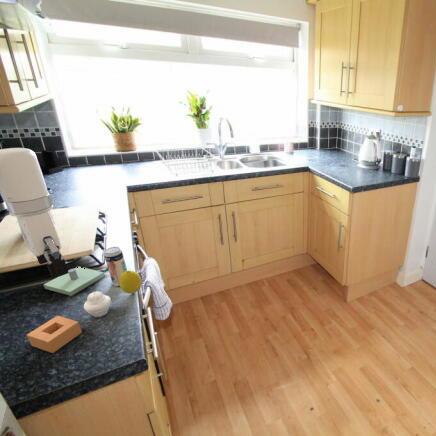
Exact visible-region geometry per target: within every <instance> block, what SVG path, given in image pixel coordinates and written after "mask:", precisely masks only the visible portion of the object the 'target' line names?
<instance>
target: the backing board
mask: <svg viewBox="0 0 436 436" xmlns="http://www.w3.org/2000/svg"><path fill="white" fill-rule="evenodd" d="M77 267H78V268H77ZM77 267H75V268H70V269H68V272H69V273H68V274H65V275H62V276H60V277H57V278H52V280H50V281H48V282H46V283H43V287H44V289H45V290H48V291H53V292H55V293H59V294H63V295H67V296H69V297H70V296H71V297H72V296H74V295H76V294H77V293H79V292H81V291H82V290H84V289H86V288H87V287H90V286H91V285H92V284H95V283H96V282H98V281H100V280H101V279H103V278H105V277H106V275H105V272H104V271H99V270H97V269H91V268H88V267H83V268H81V267H82V266H77ZM84 268H85V269H84Z"/></svg>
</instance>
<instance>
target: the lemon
mask: <svg viewBox="0 0 436 436" xmlns="http://www.w3.org/2000/svg"><path fill="white" fill-rule="evenodd" d="M119 287H120V289H121V290H122V291H123V292H124V293H126V294H132V295H133V294H136V293H137V292H138V291H139V290H140V289H141V287H142V278H141V276H140V274H139V273H138V272H137V271H135V270H127V271H126V272H124V273H123V274H122V275H121V277H120V286H119Z"/></svg>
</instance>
